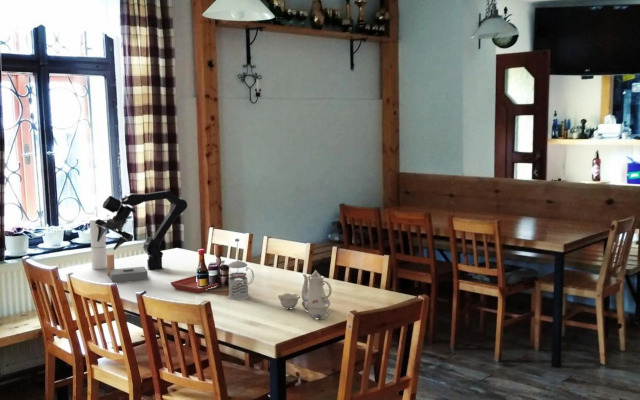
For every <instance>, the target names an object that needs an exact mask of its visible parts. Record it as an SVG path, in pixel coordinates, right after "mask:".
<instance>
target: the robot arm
mask: <svg viewBox="0 0 640 400" xmlns="http://www.w3.org/2000/svg"><path fill="white" fill-rule="evenodd" d="M165 199H166V200H167V201H168V202H169V203H170V208H169V212H168V213H167V214H166V216H165V218H164V219H163V221H162V222H161V224H160V226H159V227H158V229H157V230H156V231H155V233H154V235H152V236H151V237H150V236H148V237H147V238H146V239H145V241H144V242H143V247H142V248H143V251H144V252H145V253H146V254H147V256H148V259H147V268H148V269H149V270H150V271H152V270H162V269H163V260H162V259H163V255H164V253H163V251H161V249H160V247H161V244H162V241H163V238H164V237H165V236H166V234H167V233H168V231H169V230H170V228H171V227H172V225H173V223H174V222H175V220H176V219H177V217H179V216H180V215H181V214H183V212H184V211H186V209H187V208H188V202H187V201H186V200H185V199H183V198H180V197H178V196H177V195H176V194H174V193H173V192H172V191H171V190H167V189H165V190H161V191H155V192H147V193H133V192H132V193H129V192H128V193H126V194H125V195H124V196H123V197H122V198H120V199H119V198H118V199H117V198H115V197H113V196H112V195H108V197H107V198H106V200H104V202H103V204H102V208H103V209H104V210H107V211H109V212H111V213H113V214H115V213H116V214H115V215H113V216H112V218H109V219H107V220H106V221H105V222H104V221H102V220H100V219H97V220H96V222H95V223H96V224H98V225H97V227H98V238H97V242H99V240H100V239H101V237H102V235H103V234H104V232H105V233H106V230H110V231H112V232H114V233H117V234H118V235H120V236H119V238H118V241H117V242H116V244H115V246H114V247H113V250H114V251H115V250H117V249H118V248H119V247H120V246H122V245H123V244H124V243H126V242H129V241H131V242H132V241H133V239H134V235H132V234H131V233H129V232H126V230H125V231H123V228H124V226H125V224H127V220H128V218H130V214H131V213H134V214H136V208H135V206H137V205H140V204H143V203H146V202H152V201H158V200H159V201H160V200H165ZM130 206H131V207H130ZM104 228H105V229H104Z"/></svg>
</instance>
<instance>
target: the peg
mask: <svg viewBox="0 0 640 400" xmlns="http://www.w3.org/2000/svg"><path fill="white" fill-rule="evenodd" d="M106 258H107V267H106V269H107V270H106V271H107V277H110V269H116V267H115V254H114V253H108V254H107V253H106Z"/></svg>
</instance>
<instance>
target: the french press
mask: <svg viewBox="0 0 640 400" xmlns="http://www.w3.org/2000/svg"><path fill="white" fill-rule="evenodd" d="M234 242H236V253H237V257H236V260H235V261H231V262H230V263H229V264H228V265H227V267H228V268H230V269H242V268H245V271H246V272H248V269H249V270H250V271H251V274H252V275H251V276H252V277H251V280H250V281H248V277H247V273H246V272H238V271H237V272H232V273H229V277H228V295H227V296H226V299H228V300H231V301H241V300H242V299H243V300H247V299H250V298H251V295H250V294H249V285H251V284H252V283H253V282H254V278H255V273H254V271H253V270H252V269H251V268H250V267H248V264H247V262H244V261H240V260H239V254H238V250H239V249H238V246H239V245H238V244H239V243H238V242H240V238H235V239H234Z"/></svg>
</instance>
